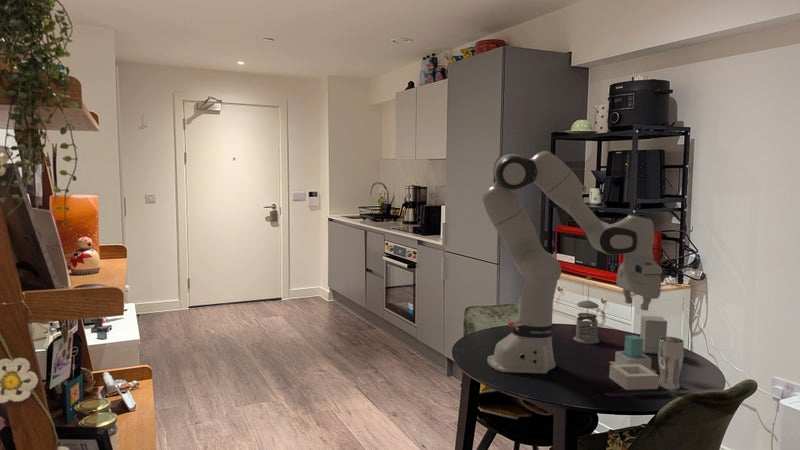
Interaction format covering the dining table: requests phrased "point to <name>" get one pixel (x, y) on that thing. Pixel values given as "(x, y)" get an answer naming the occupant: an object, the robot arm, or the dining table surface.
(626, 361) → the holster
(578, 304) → the french press
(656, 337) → the supplement box
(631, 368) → the port block
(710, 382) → the dining table surface
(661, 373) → the beer glass
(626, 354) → the plug
